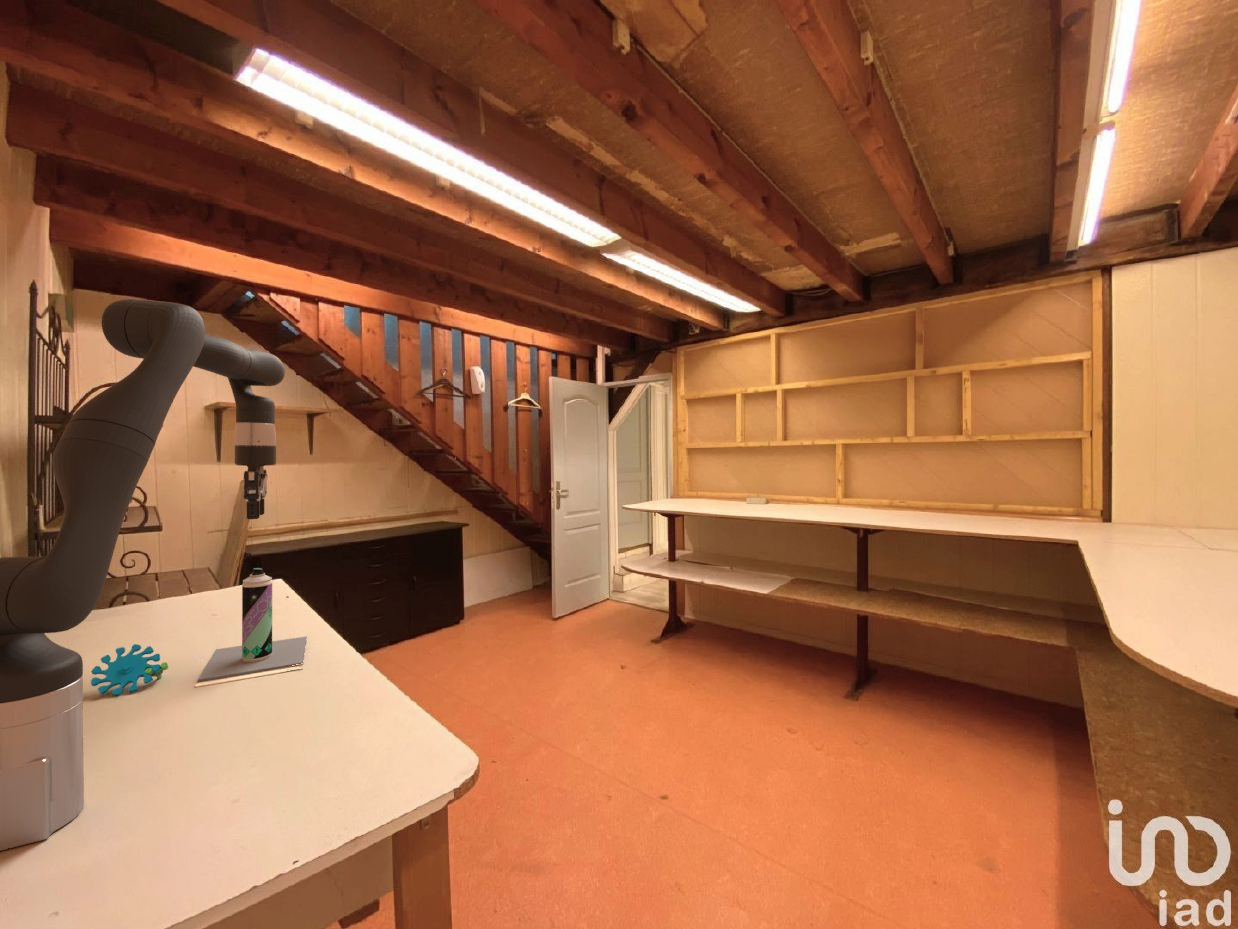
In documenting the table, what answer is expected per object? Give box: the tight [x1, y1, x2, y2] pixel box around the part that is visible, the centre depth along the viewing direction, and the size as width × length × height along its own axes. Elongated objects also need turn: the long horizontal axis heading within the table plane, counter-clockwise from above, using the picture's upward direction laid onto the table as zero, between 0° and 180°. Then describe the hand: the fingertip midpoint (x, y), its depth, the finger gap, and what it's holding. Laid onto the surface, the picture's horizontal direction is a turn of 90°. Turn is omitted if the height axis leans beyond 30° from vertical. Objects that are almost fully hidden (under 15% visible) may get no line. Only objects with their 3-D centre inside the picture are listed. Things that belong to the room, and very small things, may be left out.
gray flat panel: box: [194, 636, 308, 688], centre depth 113 cm, size 21×18×1 cm
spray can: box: [241, 567, 273, 662], centre depth 113 cm, size 6×6×20 cm
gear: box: [90, 643, 169, 697], centre depth 100 cm, size 11×6×10 cm
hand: (255, 516), depth 113 cm, fingers open, 8 cm apart
